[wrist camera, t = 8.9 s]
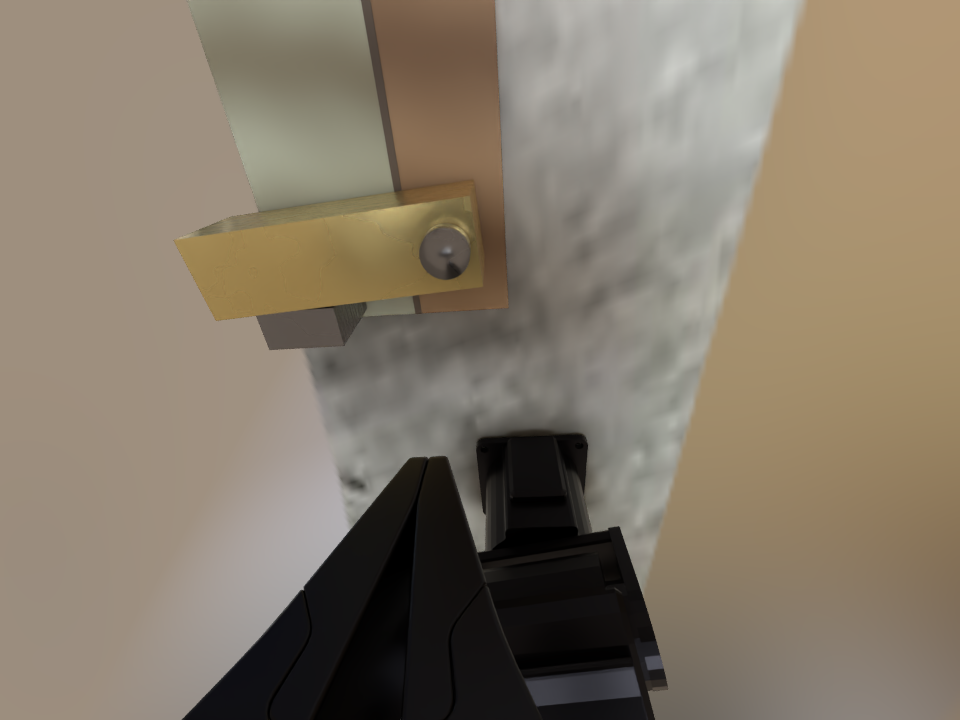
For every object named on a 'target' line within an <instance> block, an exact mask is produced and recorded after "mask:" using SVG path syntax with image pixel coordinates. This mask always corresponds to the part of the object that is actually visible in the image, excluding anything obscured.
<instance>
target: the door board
mask: <svg viewBox="0 0 960 720" xmlns="http://www.w3.org/2000/svg"><path fill="white" fill-rule="evenodd" d="M187 2H188V5H189V8H190V11H191V14H192V17H193V20H194V23H195V26H196V29H197V31H198V34H199V37H200V40H201V43H202V46H203V49H204V52H205V55H206V58H207V61H208V64H209V67H210V70H211V72H212V75H213V78H214V81H215V84H216V87H217V90H218V93H219V96H220V99H221V102H222V105H223V108H224V110H225V113H226V116H227V119H228V122H229V125H230V128H231V131H232V134H233V137H234V140H235V143H236V145H237V148H238V151H239V154H240V157H241V160H242V163H243V166H244V169H245V172H246V175H247V178H248V181H249V183H250V186H251V189H252V192H253V195H254V198H255V201H256V204H257V207H258V210H259V212H265V211H272V210H278V209H285V208H291V207H298V206H304V205H311V204H317V203H324V202H330V201H337V200H344V199H350V198H357V197H363V196H370V195H376V194H383V193H389V192H396V191H402V190H409V189H415V188H422V187H429V186H435V185H442V184H448V183H455V182H461V181H468V180H474V184H475V191H476V198H477V206H478V213H479V220H480V227H481V234H482V241H483V248H484V255H485V258H484V278H483V287H478V288H470V289H462V290H454V291H446V292H438V293H431V294H423V295H415V296H407V297H399V298H391V299H383V300H376V301H368V302H366V305H367V310H366V311H365V313H364V315H363V316H362V317H368V316H384V315H401V314H422V313H434V312H450V311H467V310H483V309H500V308H508V288H507V266H506V244H505V222H504V199H503V177H502V155H501V132H500V110H499V88H498V66H497V43H496V21H495V0H187Z"/></svg>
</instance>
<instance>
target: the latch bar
mask: <svg viewBox="0 0 960 720" xmlns="http://www.w3.org/2000/svg"><path fill="white" fill-rule="evenodd" d="M174 242H175V244H176V246H177V248H178V250H179V252H180V254H181V256H182V257H183V259H184V261H185V263H186V265H187V267H188V269H189V271H190V273H191V274H192V276H193V278H194V280H195V282H196V284H197V286H198V288H199V289H200V292H201V293H202V295H203V297H204V299H205V301H206V303H207V305H208V307H209V309H210V311H211V312H212V314H213V316H214V318H215V320H216V321H218V320H227V319H234V318H242V317H249V316H258V315H266V314H274V313H281V312H289V311H297V310H305V309H313V308H321V307H329V306H336V305H344V304H352V303H360V302H368V301H376V300H383V299H391V298H399V297H407V296H415V295H423V294H431V293H438V292H446V291H454V290H462V289H470V288H478V287H483V278H484V258H485V255H484V248H483V241H482V234H481V227H480V220H479V213H478V206H477V198H476V191H475V184H474V180H468V181H461V182H455V183H448V184H442V185H435V186H429V187H422V188H415V189H409V190H402V191H396V192H389V193H383V194H376V195H370V196H363V197H357V198H350V199H344V200H337V201H330V202H324V203H317V204H311V205H304V206H298V207H291V208H285V209H278V210H272V211H265V212H258V213H252V214H246V215H240V216H233V217H229V218H226V219H224V220H221V221H219V222H217V223H214V224H212V225H210V226H207V227H205V228H202V229H199V230H197V231H195V232H192V233H190V234H187V235H185V236H182V237H180V238H178V239H175V240H174Z"/></svg>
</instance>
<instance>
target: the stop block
mask: <svg viewBox="0 0 960 720" xmlns="http://www.w3.org/2000/svg"><path fill="white" fill-rule="evenodd" d="M366 310H367V305H366V302H360V303H352V304H344V305H336V306H329V307H321V308H313V309H305V310H297V311H289V312H281V313H274V314H266V315H258V316H256V317H257V319H258V322H259V324H260V327H261V330H262V332H263V335H264V337H265V340H266V342H267V345H268V347H269V349H270V350H278V349H295V348H313V347H331V346H344V345H345V343H346V342H347V340H348V339H349V337H350V335H351V334H352V332H353V331H354V329H355V327H356V326H357V324H358V323H359V321H360V319H361V318H362V316H363V315H364V313H365V311H366Z"/></svg>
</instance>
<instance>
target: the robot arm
mask: <svg viewBox="0 0 960 720" xmlns="http://www.w3.org/2000/svg"><path fill="white" fill-rule="evenodd" d="M576 443H580V444H576ZM484 446H486V447H487V448H483V447H484ZM587 450H588V443H587V440H586V438H585V437H584V436H583V435H559V436H534V437H510V438H486V439H481V440H479V441H478V442H477V446H476V452H477V461H478V470H479V479H480V488H481V497H482V506H483V512H484V514H485V515H486V537H485V551H482V552H477V550H476V547H475V543H474V540H473V537H472V534H471V531H470V527H469V524H468V521H467V518H466V514H465V511H464V508H463V505H462V502H461V498H460V495H459V492H458V489H457V486H456V482H455V479H454V476H453V473H452V470H451V466H450V463H449V460H448V458H447V457H446V456H435V457H430V458H429V459H428V458H427V457H412V458H410V459H409V460H408V461H407V462H406V463H405V464H404V466H403V467H402V468H401V469H400V470H399V472H398V473H397V474H396V475H395V476H394V478H393V479H392V480H391V481H390V483H389V484H388V485H387V486H386V487H385V489H384V490H383V491H382V492H381V493H380V495H379V496H378V497H377V498H376V499H375V501H374V502H373V503H372V504H371V506H370V507H369V508H368V509H367V510H366V512H365V513H364V514H363V515H362V516H361V518H360V519H359V520H358V521H357V523H356V524H355V525H354V526H353V527H352V529H351V530H350V531H349V532H348V533H347V535H346V536H345V537H344V538H343V540H342V541H341V542H340V543H339V544H338V546H337V547H336V548H335V549H334V550H333V552H332V553H331V554H330V555H329V557H328V558H327V559H326V560H325V561H324V563H323V564H322V565H321V566H320V567H319V569H318V570H317V571H316V572H315V574H314V575H313V576H312V577H311V578H310V580H309V581H308V582H307V583H306V584H305V586H304V590H300V591H299V593H298V594H297V595H296V596H295V598H294V599H293V600H292V601H291V602H290V604H289V605H288V606H287V607H286V608H285V610H284V611H283V612H282V613H281V614H280V615H279V617H278V618H277V619H276V620H275V621H274V622H273V623H272V625H271V626H270V627H269V628H268V629H267V631H266V632H265V633H264V634H263V635H262V636H261V637H260V638H259V640H258V641H257V642H256V643H255V644H254V645H253V646H252V647H251V648H250V649H249V650H248V651H247V652H246V653H245V654H244V656H243V657H242V658H241V659H240V660H239V661H238V662H237V663H236V664H235V665H234V666H233V667H232V668H231V669H230V670H229V671H228V673H227V674H226V675H225V676H224V677H223V678H222V679H221V680H220V681H219V682H218V683H217V684H216V685H215V686H214V687H213V688H212V689H211V690H210V691H209V692H208V693H207V694H206V695H205V696H204V697H203V698H202V699H201V700H200V702H199V703H197V705H196V706H195V707H194V708H193V709H192V710H191V711H190V712H189V713H188V714H187V715H186V716H185V717H184V718H183V719H182V720H655V718H654V714H653V710H652V706H651V703H650V699H649V695H648V691H650V690H653V691H660V690H668V686H667V681H666V676H665V672H664V668H663V664H662V660H661V657H660V653H659V649H658V646H657V642H656V639H655V635H654V631H653V628H652V624H651V621H650V618H649V614H648V611H647V608H646V605H645V601H644V598H643V595H642V592H641V589H640V586H639V583H638V580H637V577H636V574H635V571H634V568H633V565H632V562H631V559H630V557H629V554H628V551H627V548H626V545H625V542H624V539H623V536H622V533H621V530H620V527H619V526H617V527H612V528H608V530H606V531H600V532H594V533H592V529H591V524H590V520H589V516H588V512H587V508H586V503H585V499H584V488H585V476H586V463H587Z"/></svg>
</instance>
